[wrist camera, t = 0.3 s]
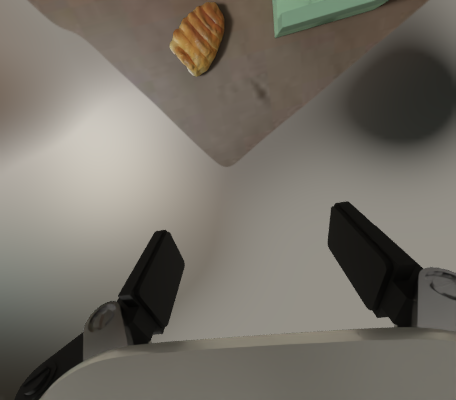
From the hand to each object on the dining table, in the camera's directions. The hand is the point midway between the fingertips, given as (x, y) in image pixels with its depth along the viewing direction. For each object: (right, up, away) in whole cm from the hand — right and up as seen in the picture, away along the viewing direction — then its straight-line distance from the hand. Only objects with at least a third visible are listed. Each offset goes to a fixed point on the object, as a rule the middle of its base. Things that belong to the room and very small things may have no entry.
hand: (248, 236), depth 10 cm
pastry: (-6, +29, +19) cm, 35 cm away
